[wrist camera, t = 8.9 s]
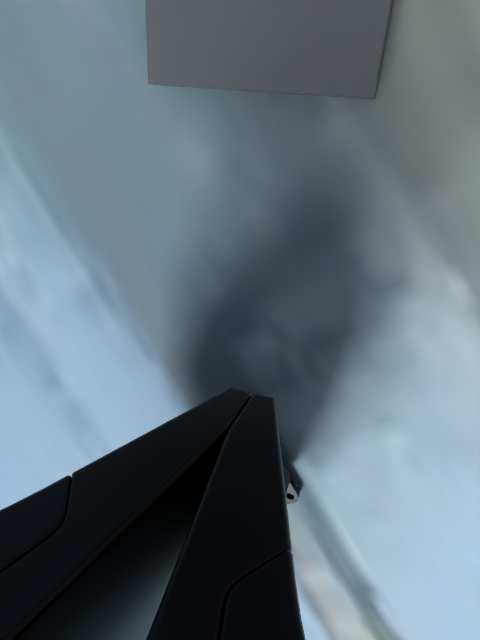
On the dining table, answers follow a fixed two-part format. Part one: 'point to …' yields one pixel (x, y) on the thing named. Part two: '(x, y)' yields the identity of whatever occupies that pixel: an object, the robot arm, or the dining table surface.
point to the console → (268, 45)
